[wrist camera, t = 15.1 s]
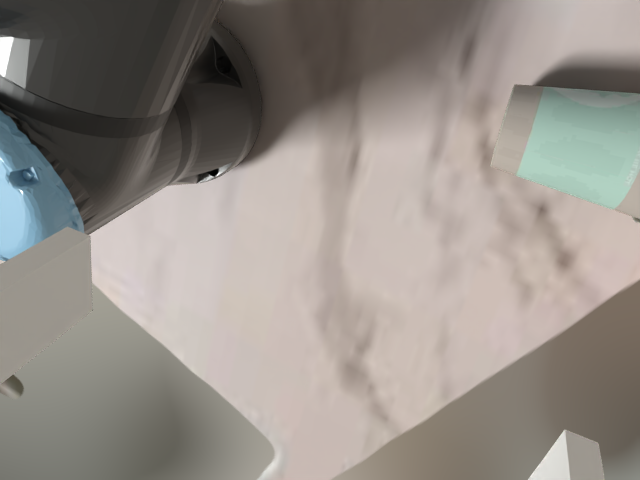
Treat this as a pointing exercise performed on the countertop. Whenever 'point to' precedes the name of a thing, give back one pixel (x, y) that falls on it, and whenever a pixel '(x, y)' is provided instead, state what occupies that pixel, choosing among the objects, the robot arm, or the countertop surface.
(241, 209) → the countertop surface
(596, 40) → the countertop surface
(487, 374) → the countertop surface
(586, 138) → the coffee cup
